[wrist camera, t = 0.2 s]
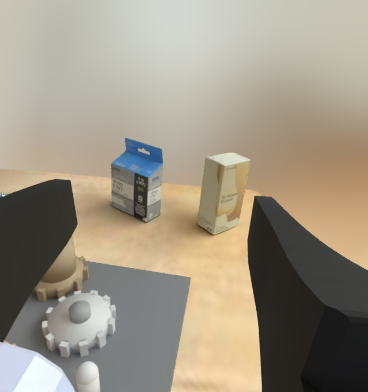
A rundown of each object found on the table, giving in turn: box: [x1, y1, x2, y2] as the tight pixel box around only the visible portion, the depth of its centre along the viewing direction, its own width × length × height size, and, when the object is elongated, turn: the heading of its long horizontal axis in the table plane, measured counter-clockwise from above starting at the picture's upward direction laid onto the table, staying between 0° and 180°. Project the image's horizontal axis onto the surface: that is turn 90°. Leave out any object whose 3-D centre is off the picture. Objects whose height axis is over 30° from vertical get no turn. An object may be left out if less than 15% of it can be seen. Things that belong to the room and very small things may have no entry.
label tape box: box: [111, 138, 163, 222], centre depth 51 cm, size 9×4×12 cm, turn 54°
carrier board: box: [5, 236, 190, 392], centre depth 28 cm, size 21×20×7 cm
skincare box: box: [197, 153, 250, 235], centre depth 49 cm, size 6×4×12 cm
